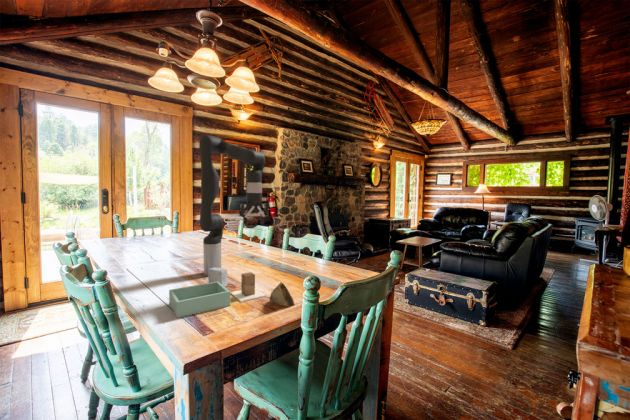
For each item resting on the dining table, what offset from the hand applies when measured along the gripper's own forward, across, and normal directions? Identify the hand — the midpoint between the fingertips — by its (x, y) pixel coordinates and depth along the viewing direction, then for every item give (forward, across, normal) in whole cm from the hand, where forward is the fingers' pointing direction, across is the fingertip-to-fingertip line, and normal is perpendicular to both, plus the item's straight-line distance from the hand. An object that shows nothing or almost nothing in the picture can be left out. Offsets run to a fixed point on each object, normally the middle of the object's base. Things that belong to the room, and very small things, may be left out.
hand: (254, 224), depth 141 cm
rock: (+30, 0, +28) cm, 41 cm away
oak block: (+29, +8, +12) cm, 33 cm away
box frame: (+30, +29, +12) cm, 43 cm away
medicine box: (+30, +16, -6) cm, 35 cm away
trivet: (+30, +8, +12) cm, 33 cm away
